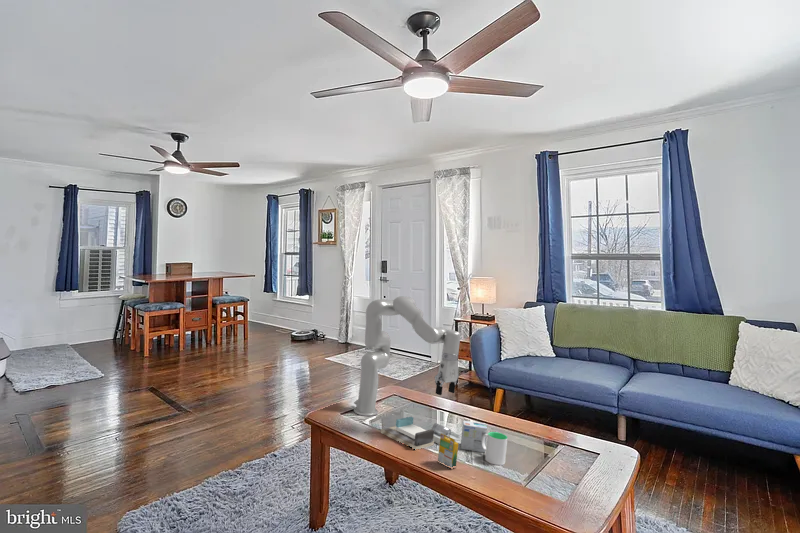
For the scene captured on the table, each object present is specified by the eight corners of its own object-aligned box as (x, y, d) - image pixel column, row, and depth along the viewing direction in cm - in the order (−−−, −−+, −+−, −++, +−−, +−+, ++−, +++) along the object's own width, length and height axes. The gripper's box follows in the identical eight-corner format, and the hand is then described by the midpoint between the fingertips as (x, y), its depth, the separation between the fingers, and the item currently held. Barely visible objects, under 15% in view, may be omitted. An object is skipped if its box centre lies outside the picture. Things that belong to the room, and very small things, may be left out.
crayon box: (456, 468, 154) (459, 438, 154) (451, 470, 152) (454, 439, 152) (442, 461, 159) (445, 431, 160) (437, 462, 157) (440, 433, 158)
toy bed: (394, 434, 177) (396, 419, 177) (409, 430, 184) (411, 416, 184) (414, 444, 168) (416, 428, 169) (428, 439, 175) (430, 425, 175)
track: (380, 432, 182) (382, 418, 182) (398, 428, 190) (400, 414, 190) (415, 450, 166) (417, 434, 166) (433, 445, 174) (435, 430, 175)
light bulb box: (483, 447, 179) (486, 423, 180) (485, 453, 172) (488, 428, 173) (460, 443, 180) (462, 419, 181) (460, 449, 174) (463, 424, 174)
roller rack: (421, 435, 184) (422, 430, 184) (440, 430, 193) (440, 425, 193) (441, 445, 175) (442, 439, 175) (459, 439, 185) (460, 434, 185)
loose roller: (431, 433, 186) (432, 423, 186) (437, 431, 189) (438, 422, 189) (444, 439, 180) (445, 429, 180) (450, 437, 183) (451, 428, 183)
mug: (474, 454, 170) (476, 429, 170) (486, 451, 174) (489, 427, 175) (496, 466, 160) (499, 440, 160) (508, 463, 165) (511, 437, 165)
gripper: (444, 359, 178) (439, 397, 177) (466, 358, 190) (462, 393, 189) (431, 355, 183) (427, 392, 182) (454, 354, 195) (449, 389, 194)
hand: (445, 393), depth 186 cm, fingers open, 9 cm apart
